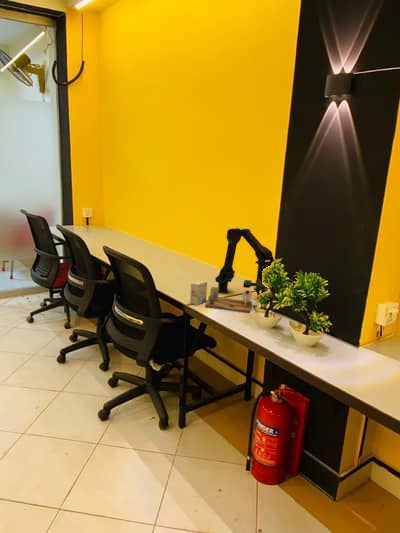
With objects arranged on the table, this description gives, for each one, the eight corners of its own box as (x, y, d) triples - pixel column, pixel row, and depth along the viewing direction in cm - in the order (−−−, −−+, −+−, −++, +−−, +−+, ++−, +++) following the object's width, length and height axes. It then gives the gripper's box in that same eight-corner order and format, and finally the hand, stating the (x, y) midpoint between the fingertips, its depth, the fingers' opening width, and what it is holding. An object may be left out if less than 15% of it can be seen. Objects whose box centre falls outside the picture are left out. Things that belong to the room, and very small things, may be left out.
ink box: (199, 299, 221) (200, 279, 218) (206, 301, 218) (207, 281, 215) (189, 303, 214) (190, 282, 211) (196, 305, 211) (198, 284, 208)
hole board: (209, 299, 222) (209, 294, 221) (251, 305, 218) (252, 300, 217) (204, 307, 210) (205, 302, 209) (249, 313, 206) (250, 308, 205)
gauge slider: (243, 301, 218) (244, 289, 216) (250, 302, 217) (251, 290, 215) (241, 306, 209) (242, 294, 207) (248, 307, 208) (250, 295, 206)
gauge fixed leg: (211, 296, 221) (212, 286, 220) (218, 297, 220) (219, 287, 219) (208, 302, 212) (208, 291, 211) (215, 303, 211) (216, 292, 210)
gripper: (243, 274, 204) (240, 303, 208) (280, 279, 200) (276, 308, 204) (245, 269, 214) (242, 296, 218) (280, 273, 211) (276, 301, 215)
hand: (259, 300), depth 214 cm, fingers closed
